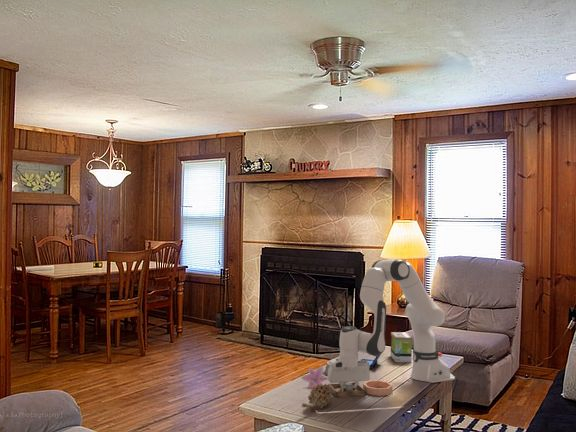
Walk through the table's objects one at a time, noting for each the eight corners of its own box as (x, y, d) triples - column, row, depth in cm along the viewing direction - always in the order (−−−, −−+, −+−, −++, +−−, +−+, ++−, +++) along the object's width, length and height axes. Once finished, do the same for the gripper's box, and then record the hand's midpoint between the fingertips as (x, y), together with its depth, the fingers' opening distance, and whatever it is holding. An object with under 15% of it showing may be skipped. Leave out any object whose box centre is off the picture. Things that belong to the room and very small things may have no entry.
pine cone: (316, 400, 240) (316, 378, 240) (335, 404, 235) (336, 382, 235) (294, 416, 220) (294, 392, 220) (315, 420, 216) (315, 396, 216)
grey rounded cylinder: (351, 391, 250) (351, 383, 250) (354, 394, 246) (354, 385, 246) (343, 392, 249) (343, 383, 249) (346, 394, 245) (346, 386, 245)
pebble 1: (347, 387, 256) (347, 379, 256) (349, 390, 252) (350, 382, 252) (339, 388, 255) (339, 380, 255) (342, 390, 251) (342, 382, 251)
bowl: (385, 387, 259) (385, 379, 259) (395, 396, 246) (395, 388, 246) (360, 389, 256) (360, 381, 257) (369, 397, 244) (369, 389, 244)
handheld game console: (362, 361, 308) (362, 345, 308) (384, 363, 303) (384, 347, 303) (354, 368, 294) (354, 351, 294) (378, 370, 289) (378, 354, 289)
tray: (356, 387, 259) (356, 382, 259) (366, 396, 245) (366, 390, 245) (328, 389, 256) (328, 383, 256) (336, 398, 242) (336, 392, 242)
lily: (298, 388, 260) (299, 374, 255) (311, 374, 268) (312, 360, 264) (318, 400, 254) (319, 386, 249) (331, 385, 262) (332, 371, 258)
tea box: (412, 362, 305) (412, 337, 305) (394, 362, 305) (395, 337, 305) (406, 355, 320) (406, 331, 320) (390, 355, 320) (390, 331, 320)
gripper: (367, 358, 253) (367, 387, 253) (326, 360, 249) (326, 389, 249) (372, 362, 247) (372, 391, 247) (330, 364, 243) (330, 394, 242)
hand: (348, 390), depth 248 cm, fingers closed on grey rounded cylinder, 4 cm apart
